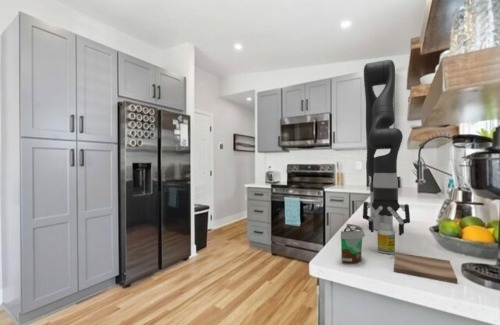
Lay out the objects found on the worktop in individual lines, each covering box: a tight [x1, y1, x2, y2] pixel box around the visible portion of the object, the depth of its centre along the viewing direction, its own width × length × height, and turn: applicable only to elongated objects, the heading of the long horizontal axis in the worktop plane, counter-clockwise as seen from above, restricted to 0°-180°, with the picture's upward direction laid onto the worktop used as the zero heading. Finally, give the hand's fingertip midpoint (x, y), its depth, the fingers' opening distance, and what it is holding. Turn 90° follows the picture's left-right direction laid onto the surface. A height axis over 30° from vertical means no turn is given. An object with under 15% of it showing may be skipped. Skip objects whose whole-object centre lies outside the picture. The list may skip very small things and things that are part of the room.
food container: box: [340, 223, 366, 265], centre depth 81 cm, size 12×6×10 cm, turn 151°
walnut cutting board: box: [393, 252, 458, 284], centre depth 74 cm, size 14×14×1 cm
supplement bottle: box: [376, 223, 396, 255], centre depth 88 cm, size 5×5×10 cm
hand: (385, 233), depth 88 cm, fingers open, 8 cm apart
